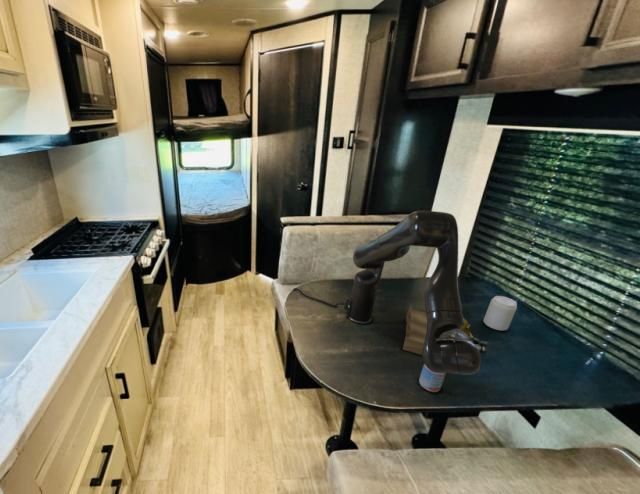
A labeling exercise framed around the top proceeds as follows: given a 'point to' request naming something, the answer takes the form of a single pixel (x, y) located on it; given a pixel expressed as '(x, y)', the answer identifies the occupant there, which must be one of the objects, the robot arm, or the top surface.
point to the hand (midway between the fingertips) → (456, 336)
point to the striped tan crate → (415, 331)
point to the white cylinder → (500, 313)
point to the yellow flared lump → (466, 328)
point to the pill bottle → (431, 379)
